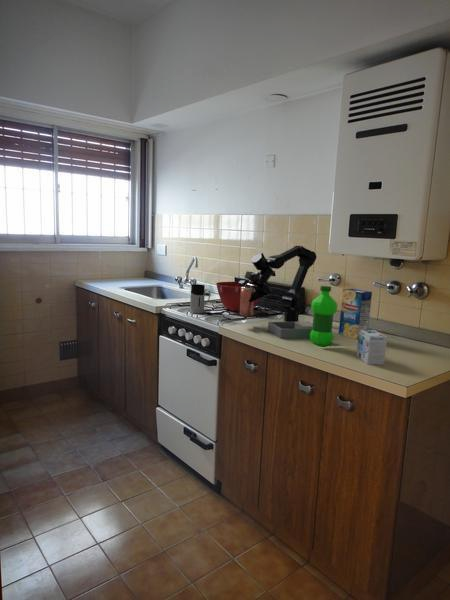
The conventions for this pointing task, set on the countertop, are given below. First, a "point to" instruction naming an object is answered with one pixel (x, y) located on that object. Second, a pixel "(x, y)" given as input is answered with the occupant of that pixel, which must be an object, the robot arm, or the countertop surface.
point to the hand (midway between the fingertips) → (244, 300)
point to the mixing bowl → (231, 295)
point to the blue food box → (354, 312)
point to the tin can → (246, 300)
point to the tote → (288, 330)
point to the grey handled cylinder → (197, 298)
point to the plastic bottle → (323, 317)
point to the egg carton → (303, 325)
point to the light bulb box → (371, 347)
